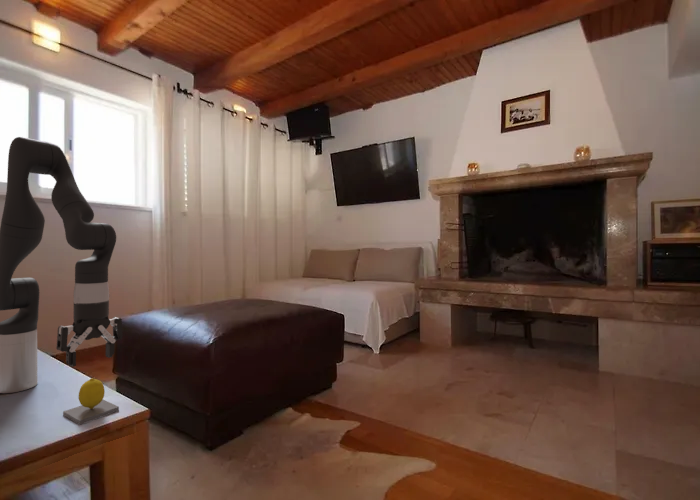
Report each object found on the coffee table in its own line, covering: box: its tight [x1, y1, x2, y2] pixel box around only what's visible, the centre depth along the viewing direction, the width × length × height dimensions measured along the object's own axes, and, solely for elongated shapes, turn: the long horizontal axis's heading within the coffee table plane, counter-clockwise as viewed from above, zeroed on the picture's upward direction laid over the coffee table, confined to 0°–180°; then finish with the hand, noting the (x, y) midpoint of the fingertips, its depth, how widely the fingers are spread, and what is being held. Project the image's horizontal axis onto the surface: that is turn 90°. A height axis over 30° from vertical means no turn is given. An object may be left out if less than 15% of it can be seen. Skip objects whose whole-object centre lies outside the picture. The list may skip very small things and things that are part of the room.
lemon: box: [78, 377, 106, 409], centre depth 95 cm, size 6×6×8 cm
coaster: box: [62, 398, 120, 426], centre depth 95 cm, size 9×9×1 cm
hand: (91, 361), depth 95 cm, fingers open, 8 cm apart
